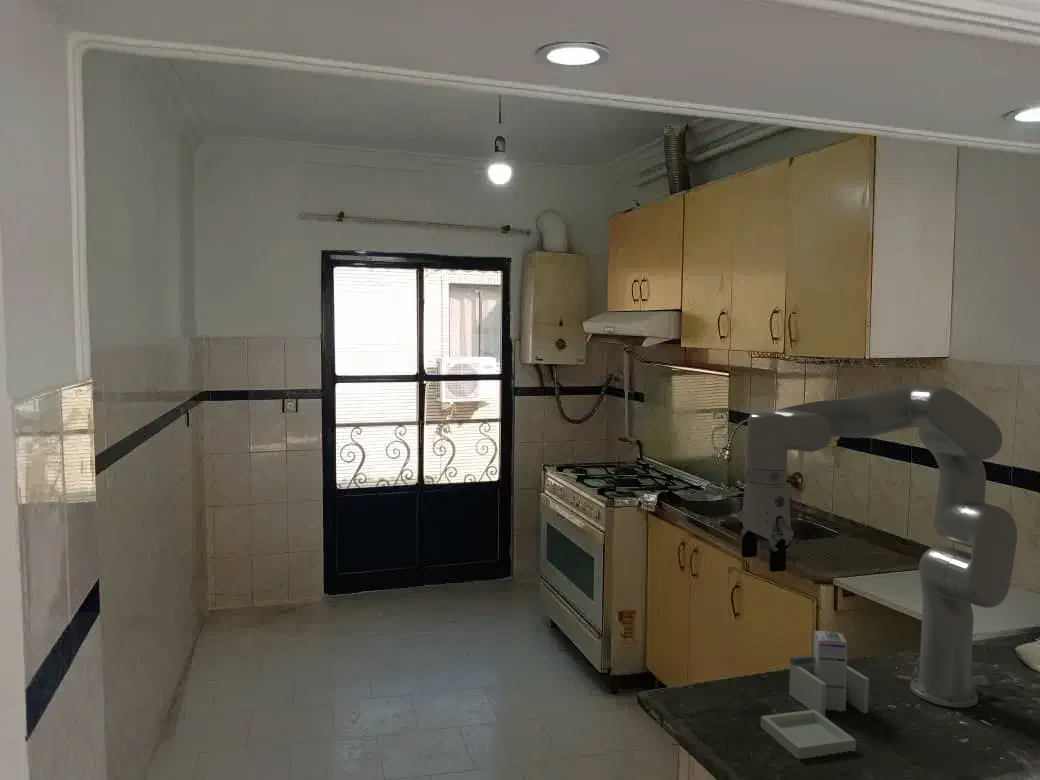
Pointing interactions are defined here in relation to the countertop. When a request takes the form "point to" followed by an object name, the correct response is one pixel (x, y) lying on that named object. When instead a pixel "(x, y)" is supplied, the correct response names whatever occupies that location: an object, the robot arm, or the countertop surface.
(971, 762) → the countertop surface
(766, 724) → the tray
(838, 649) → the syrup box
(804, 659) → the bay
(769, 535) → the robot arm
